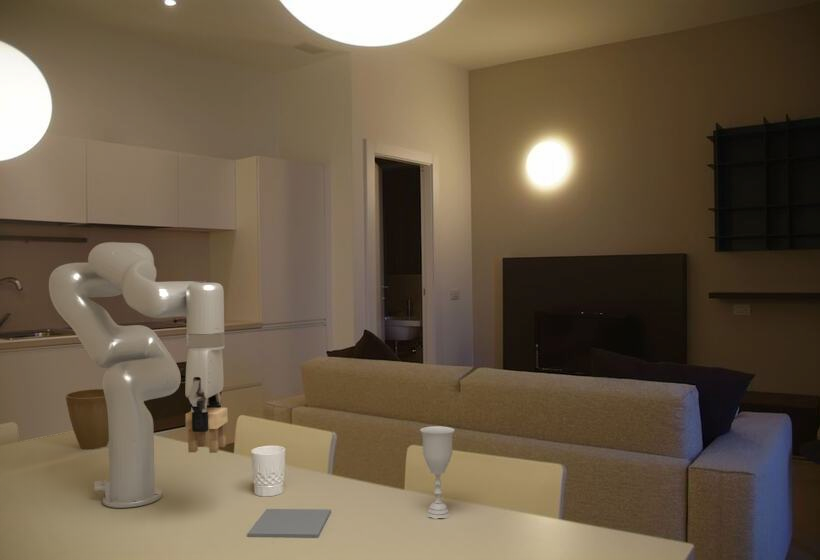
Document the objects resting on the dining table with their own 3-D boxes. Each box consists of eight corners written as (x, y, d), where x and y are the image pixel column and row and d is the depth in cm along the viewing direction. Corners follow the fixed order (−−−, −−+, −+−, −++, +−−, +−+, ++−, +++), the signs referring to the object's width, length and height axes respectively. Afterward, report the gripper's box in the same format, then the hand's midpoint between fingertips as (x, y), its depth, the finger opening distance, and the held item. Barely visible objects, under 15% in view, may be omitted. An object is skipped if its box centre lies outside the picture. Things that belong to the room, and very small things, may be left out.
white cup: (278, 498, 159) (277, 455, 159) (246, 496, 161) (245, 453, 161) (291, 487, 167) (290, 446, 167) (260, 486, 169) (259, 444, 168)
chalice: (459, 511, 149) (458, 427, 149) (450, 522, 143) (449, 434, 143) (426, 508, 152) (425, 425, 151) (416, 518, 145) (415, 432, 145)
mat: (247, 536, 137) (247, 533, 137) (266, 511, 151) (266, 508, 151) (318, 537, 136) (318, 534, 136) (331, 512, 150) (331, 509, 150)
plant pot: (55, 451, 203) (54, 397, 203) (87, 439, 218) (86, 388, 217) (102, 453, 200) (101, 397, 200) (131, 440, 215) (130, 388, 215)
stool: (186, 452, 143) (185, 413, 143) (198, 444, 150) (197, 407, 150) (217, 453, 143) (216, 414, 143) (227, 445, 149) (227, 407, 149)
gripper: (204, 337, 155) (205, 418, 155) (170, 346, 138) (172, 437, 138) (237, 337, 154) (238, 418, 155) (207, 346, 137) (209, 437, 137)
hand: (207, 426), depth 146 cm, fingers closed on stool, 6 cm apart
